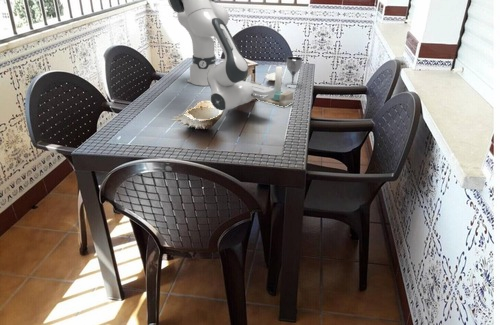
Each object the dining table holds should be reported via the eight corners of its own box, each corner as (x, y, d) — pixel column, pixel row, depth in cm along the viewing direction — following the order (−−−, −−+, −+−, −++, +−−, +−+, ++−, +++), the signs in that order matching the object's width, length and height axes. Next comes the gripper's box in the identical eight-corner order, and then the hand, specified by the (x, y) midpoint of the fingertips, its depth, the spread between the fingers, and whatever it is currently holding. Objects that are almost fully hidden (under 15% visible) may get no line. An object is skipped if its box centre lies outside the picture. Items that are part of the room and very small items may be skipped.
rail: (246, 97, 197) (246, 85, 194) (255, 94, 202) (255, 82, 199) (284, 108, 185) (285, 95, 182) (292, 104, 190) (293, 92, 187)
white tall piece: (269, 98, 189) (271, 67, 183) (275, 95, 193) (277, 65, 186) (278, 100, 187) (280, 69, 180) (284, 97, 190) (286, 67, 184)
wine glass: (285, 88, 212) (287, 59, 205) (284, 84, 219) (286, 56, 212) (300, 88, 212) (303, 60, 205) (298, 84, 219) (301, 56, 212)
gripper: (263, 90, 160) (283, 83, 170) (224, 80, 171) (245, 74, 181) (262, 105, 163) (282, 97, 173) (224, 94, 174) (244, 87, 184)
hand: (262, 85), depth 177 cm, fingers open, 8 cm apart
